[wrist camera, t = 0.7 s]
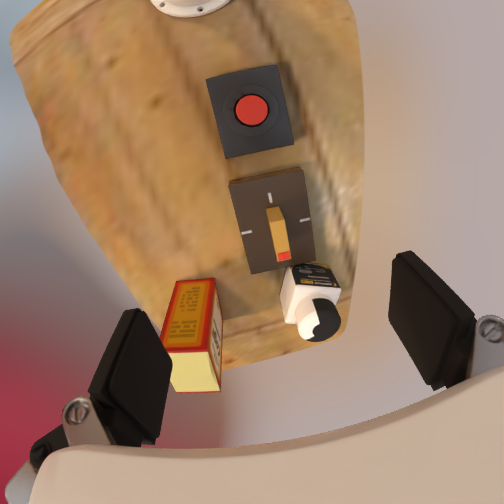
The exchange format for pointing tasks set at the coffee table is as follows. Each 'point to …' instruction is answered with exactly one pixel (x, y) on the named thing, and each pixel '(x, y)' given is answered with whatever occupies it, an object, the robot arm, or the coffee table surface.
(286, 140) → the box
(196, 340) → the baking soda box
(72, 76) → the coffee table surface
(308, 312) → the medicine bottle
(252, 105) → the door button
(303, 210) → the plate
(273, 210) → the orange block red tip
